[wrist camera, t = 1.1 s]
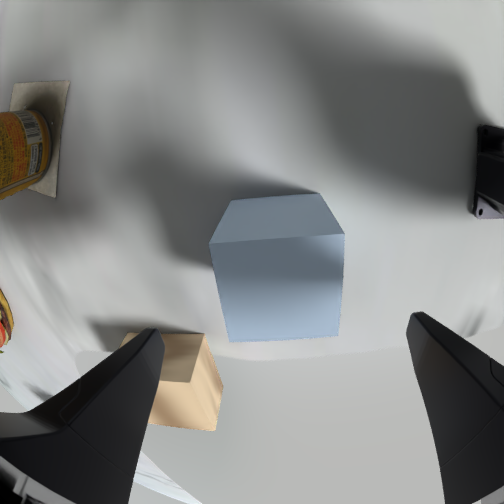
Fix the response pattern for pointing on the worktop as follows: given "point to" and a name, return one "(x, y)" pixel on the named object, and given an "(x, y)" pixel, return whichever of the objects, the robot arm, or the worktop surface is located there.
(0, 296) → the food
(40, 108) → the condiment
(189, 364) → the tan block
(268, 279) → the blue block
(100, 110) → the worktop surface
